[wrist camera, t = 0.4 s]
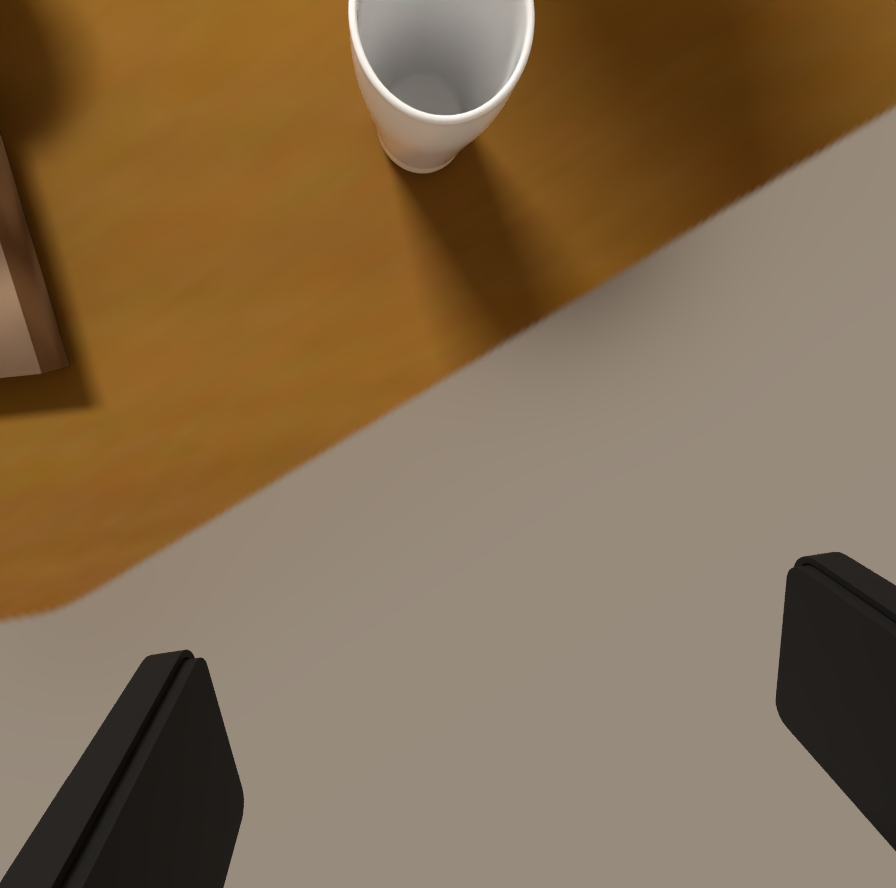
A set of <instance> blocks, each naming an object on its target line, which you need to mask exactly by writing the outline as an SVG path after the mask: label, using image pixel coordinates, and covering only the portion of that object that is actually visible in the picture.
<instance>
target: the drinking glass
mask: <svg viewBox="0 0 896 888" xmlns="http://www.w3.org/2000/svg"><path fill="white" fill-rule="evenodd" d="M348 16H349V33H350V45H351V53H352V59H353V65H354V70H355V74H356V78H357V82H358V85H359V88H360V91H361V94H362V97H363V99H364V102H365V104H366V106H367V108H368V110H369V113H370V115H371V117H372V119H373V121H374V124H375V126H376V128H377V133H378V137H379V140H380V143H381V145H382V147H383V149H384V151H385V152H386V154H387V155H388V156H389V158H390V159H391V160H392V161H393V162H394V163H396V164H397V165H398V166H400V167H401V168H403V169H405V170H407V171H410V172H413V173H421V174H424V173H432V172H435V171H438V170H440V169H442V168H444V167H445V166H447V165H448V164H449V163H450V162H451V161H452V160H453V159H454V158H455V157H456V155H457V154H458V153H459V152H460V151H461V150H462V149H463V148H465V147H466V146H467V145H468V144H469V143H471V142H472V141H473V140H474V139H476V138H477V137H478V136H479V135H480V134H481V133H482V132H483V131H484V130H485V129H486V128H487V127H488V126H489V125H490V124H491V123H492V122H493V121H494V119H495V118H496V117H497V116H498V114H499V113H500V112H501V110H502V109H503V107H504V106H505V104H506V103H507V101H508V99H509V98H510V96H511V94H512V92H513V90H514V89H515V87H516V85H517V83H518V81H519V78H520V76H521V75H522V73H523V70H524V68H525V66H526V63H527V61H528V58H529V55H530V51H531V47H532V42H533V36H534V25H535V11H534V1H533V0H349V4H348Z"/></svg>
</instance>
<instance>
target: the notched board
mask: <svg viewBox="0 0 896 888" xmlns="http://www.w3.org/2000/svg"><path fill="white" fill-rule="evenodd" d="M67 366H70V365H69V362H68V358H67V355H66V352H65V348H64V345H63V342H62V338H61V335H60V332H59V328H58V325H57V322H56V318H55V315H54V312H53V308H52V305H51V301H50V298H49V295H48V291H47V288H46V285H45V281H44V278H43V275H42V271H41V268H40V265H39V261H38V258H37V255H36V251H35V248H34V245H33V241H32V238H31V234H30V231H29V228H28V224H27V221H26V218H25V214H24V211H23V208H22V204H21V201H20V198H19V194H18V191H17V188H16V184H15V181H14V178H13V174H12V171H11V167H10V164H9V161H8V157H7V154H6V151H5V147H4V144H3V141H2V137H1V134H0V378H5V377H15V376H24V375H34V374H42V373H46V372H50V371H53V370H57V369H60V368H64V367H67Z"/></svg>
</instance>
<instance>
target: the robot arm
mask: <svg viewBox="0 0 896 888" xmlns="http://www.w3.org/2000/svg"><path fill="white" fill-rule="evenodd" d="M776 706H777V710H778V713H779V716H780V718H781V719H782V721H783V723H784V724H785V725H786V727H787V728H788V729H789V730H790V731H791V733H792V734H793V735H794V736H795V737H796V738H797V739H798V740H799V742H800V743H801V744H802V745H803V746H804V747H805V748H806V749H807V751H808V752H809V753H810V754H811V755H812V756H813V758H814V759H815V760H816V761H817V762H818V763H819V764H820V766H821V767H822V768H823V769H824V770H825V771H826V772H827V773H828V774H829V776H830V777H831V778H832V779H833V780H834V781H835V783H837V785H838V786H839V787H840V788H841V789H842V791H843V792H844V793H845V794H846V795H847V796H848V797H849V798H850V800H851V801H852V802H853V803H854V804H855V805H856V806H857V808H858V809H859V810H860V811H861V812H862V813H863V814H864V816H865V817H866V818H867V819H868V820H869V821H870V822H871V823H872V825H873V826H874V827H875V828H876V829H877V830H878V831H879V833H880V834H881V835H882V836H883V837H884V838H885V839H886V840H887V842H888V843H889V844H890V845H891V846H892V847H893V849H894V850H895V851H896V586H895V585H894V584H892V583H891V582H889V581H888V580H886V579H884V578H883V577H881V576H879V575H878V574H876V573H874V572H873V571H871V570H870V569H868V568H866V567H865V566H863V565H861V564H860V563H858V562H856V561H855V560H853V559H852V558H850V557H848V556H847V555H845V554H842V553H840V552H831V553H824V554H817V555H812V556H805V557H801V558H799V559H798V560H797V561H796V563H795V566H794V567H793V568H791V569H790V570H789V572H788V575H787V582H786V592H785V603H784V614H783V625H782V636H781V647H780V658H779V669H778V680H777V691H776ZM243 808H244V797H243V790H242V786H241V782H240V779H239V775H238V772H237V768H236V765H235V761H234V758H233V754H232V751H231V747H230V744H229V740H228V736H227V733H226V729H225V726H224V722H223V719H222V716H221V712H220V708H219V705H218V702H217V698H216V694H215V691H214V687H213V684H212V680H211V677H210V673H209V670H208V667H207V663H206V661H205V660H204V659H203V658H195V657H194V655H193V654H192V652H191V651H189V650H182V651H175V652H168V653H161V654H155V655H150V656H147V657H146V658H145V659H144V660H143V661H142V663H141V664H140V666H139V668H138V669H137V671H136V672H135V674H134V675H133V677H132V679H131V680H130V682H129V683H128V685H127V686H126V688H125V689H124V691H123V692H122V694H121V696H120V697H119V699H118V700H117V702H116V704H115V705H114V707H113V708H112V710H111V711H110V713H109V714H108V716H107V717H106V719H105V721H104V722H103V724H102V725H101V727H100V729H99V730H98V732H97V733H96V735H95V736H94V738H93V739H92V741H91V743H90V744H89V746H88V747H87V749H86V750H85V752H84V753H83V755H82V756H81V758H80V760H79V761H78V763H77V764H76V766H75V767H74V769H73V770H72V772H71V774H70V775H69V776H68V778H67V779H66V781H65V782H64V784H63V785H62V787H61V788H60V790H59V792H58V793H57V795H56V796H55V798H54V799H53V801H52V802H51V804H50V806H49V807H48V809H47V810H46V812H45V813H44V815H43V817H42V818H41V820H40V822H39V823H38V824H37V826H36V827H35V829H34V831H33V832H32V834H31V835H30V837H29V838H28V840H27V841H26V843H25V845H24V846H23V848H22V849H21V851H20V852H19V854H18V856H17V857H16V859H15V860H14V862H13V864H12V865H11V866H10V868H9V869H8V871H7V873H6V874H5V876H4V877H3V879H2V881H1V882H0V888H223V887H224V883H225V880H226V875H227V872H228V869H229V864H230V861H231V858H232V854H233V850H234V846H235V843H236V839H237V835H238V832H239V828H240V824H241V821H242V816H243Z"/></svg>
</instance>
